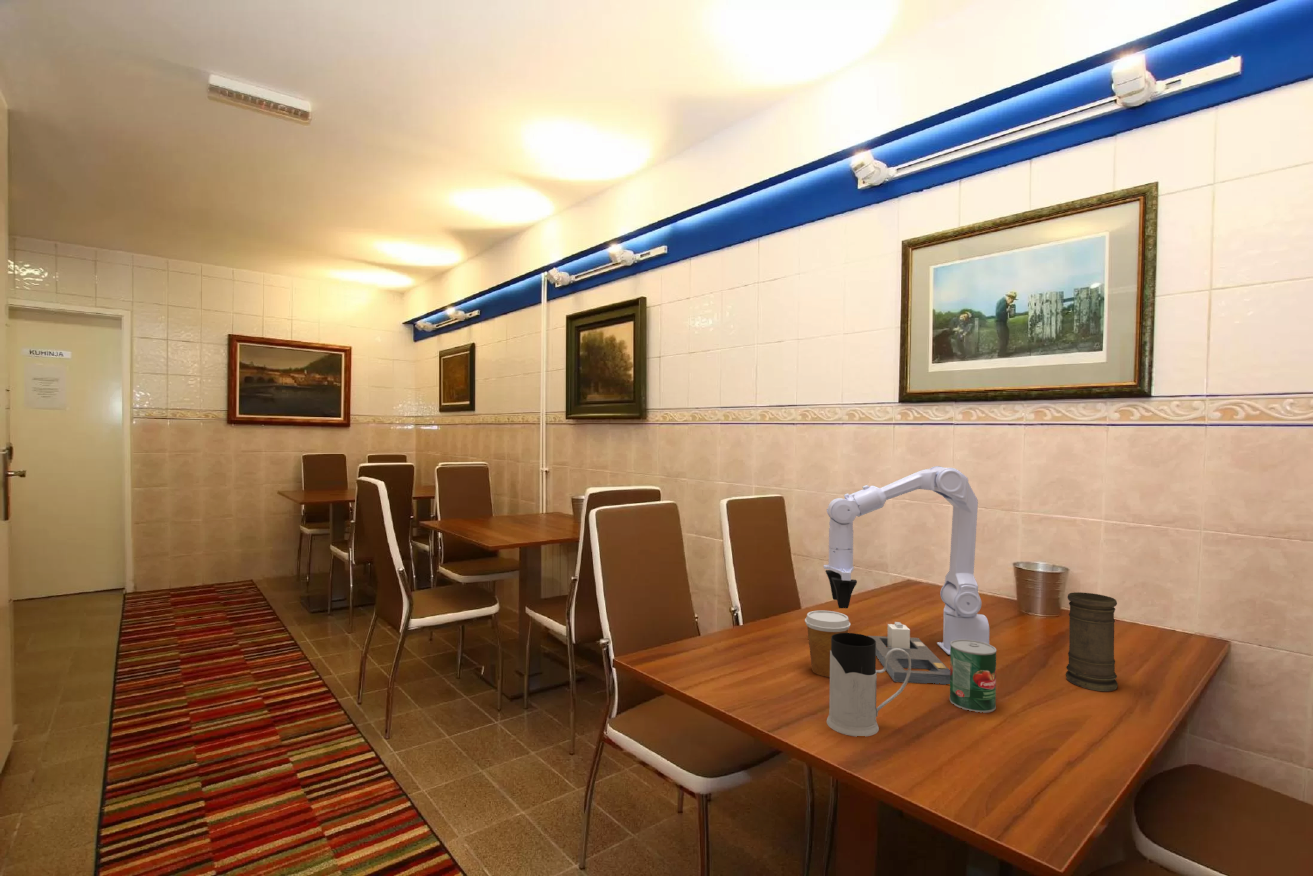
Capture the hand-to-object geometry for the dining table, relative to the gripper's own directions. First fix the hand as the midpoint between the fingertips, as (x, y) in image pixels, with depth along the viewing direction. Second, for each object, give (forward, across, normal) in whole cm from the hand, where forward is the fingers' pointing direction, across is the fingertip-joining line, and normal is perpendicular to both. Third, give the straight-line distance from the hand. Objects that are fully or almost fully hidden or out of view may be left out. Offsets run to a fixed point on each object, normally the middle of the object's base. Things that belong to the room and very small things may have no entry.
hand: (840, 603), depth 151 cm
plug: (+10, +3, +13) cm, 17 cm away
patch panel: (+10, +10, +13) cm, 19 cm away
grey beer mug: (+10, +43, -3) cm, 44 cm away
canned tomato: (+10, +31, +19) cm, 38 cm away
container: (+10, +17, +48) cm, 52 cm away
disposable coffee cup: (+10, +18, -6) cm, 22 cm away
